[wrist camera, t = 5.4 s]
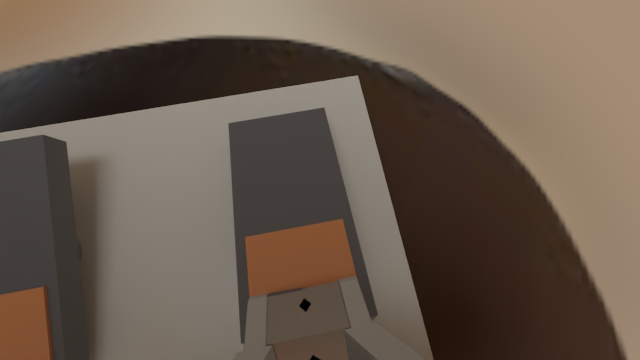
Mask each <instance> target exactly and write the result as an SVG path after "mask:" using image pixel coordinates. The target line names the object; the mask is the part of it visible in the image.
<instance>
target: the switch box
mask: <svg viewBox="0 0 640 360" xmlns="http://www.w3.org/2000/svg"><path fill="white" fill-rule="evenodd" d="M318 108H325V112H326V116H327V120H328V124H329V127H330V131H331V135H332V139H333V143H334V147H335V151H336V154H337V158H338V162H339V166H340V170H341V174H342V178H343V181H344V185H345V189H346V193H347V197H348V201H349V205H350V208H351V212H352V216H353V220H354V224H355V228H356V232H357V235H358V239H359V243H360V247H361V251H362V255H363V259H364V262H365V266H366V270H367V274H368V278H369V282H370V286H371V289H372V293H373V297H374V301H375V305H376V309H377V313H378V315H377V316H376V317H375V319H373V320H372V323H379V324H381V325H382V326H383V327H384V328H386V329H387V330H388V331H390V332H391V333H392V334H393V335H395V336H396V337H397V338H399V339H400V340H401V341H403V342H404V343H405V344H406V345H408V346H409V347H410V348H412V349H413V350H414V351H415V352H417V353H418V354H419V355H421V356H422V357H423V358H424V359H426V360H434V359H433V355H432V352H431V348H430V344H429V340H428V337H427V333H426V329H425V326H424V322H423V318H422V314H421V311H420V307H419V303H418V299H417V296H416V292H415V288H414V284H413V281H412V277H411V273H410V269H409V266H408V262H407V258H406V254H405V251H404V247H403V243H402V239H401V236H400V232H399V228H398V224H397V221H396V217H395V213H394V210H393V206H392V202H391V198H390V195H389V191H388V187H387V183H386V180H385V176H384V172H383V168H382V165H381V161H380V157H379V153H378V150H377V146H376V142H375V138H374V135H373V131H372V127H371V123H370V120H369V116H368V112H367V109H366V105H365V101H364V97H363V94H362V90H361V86H360V82H359V79H358V76H352V77H346V78H340V79H333V80H327V81H321V82H315V83H308V84H302V85H296V86H290V87H283V88H277V89H271V90H265V91H258V92H252V93H246V94H240V95H233V96H227V97H221V98H215V99H209V100H202V101H196V102H190V103H184V104H177V105H171V106H165V107H159V108H152V109H146V110H140V111H134V112H127V113H121V114H115V115H109V116H103V117H96V118H90V119H84V120H78V121H71V122H65V123H59V124H53V125H46V126H40V127H34V128H28V129H21V130H15V131H9V132H3V133H0V141H7V140H13V139H19V138H25V137H31V136H37V135H46V136H49V137H52V138H56V139H59V140H62V141H65V142H66V143H67V153H68V162H69V171H70V181H71V190H72V199H73V209H74V218H75V227H76V237H77V239H78V241H79V243H80V245H81V251H82V252H81V259H80V261H79V265H80V274H81V284H82V293H83V302H84V312H85V321H86V330H87V340H88V349H89V358H90V360H233V358H234V357H235V355H236V354H237V353H238V352H241V351H244V344H242V343H241V337H240V319H239V302H238V284H237V266H236V249H235V231H234V214H233V196H232V179H231V161H230V143H229V126H228V123H233V122H239V121H245V120H251V119H257V118H263V117H269V116H275V115H281V114H287V113H293V112H299V111H306V110H312V109H318Z"/></svg>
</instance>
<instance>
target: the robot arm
mask: <svg viewBox="0 0 640 360" xmlns="http://www.w3.org/2000/svg"><path fill="white" fill-rule="evenodd" d="M233 360H426V359H424V358H423V357H422V356H421V355H419V354H418V353H417V352H415V351H414V350H413V349H412V348H410V347H409V346H408V345H406V344H405V343H404V342H403V341H401V340H400V339H399V338H397V337H396V336H395V335H393V334H392V333H391V332H390V331H388V330H387V329H386V328H384V327H383V326H382V325H381V324H379V323H372V320H371V318H370V315H369V312H368V309H367V306H366V303H365V300H364V297H363V294H362V291H361V288H360V285H359V282H358V279H357V277H356V276H351V277H347V278H342V279H338V280H333V281H328V282H323V283H318V284H314V285H309V286H304V287H300V288H295V289H289V290H283V291H278V292H272V293H268V294H263V295H257V296H251V297H250V298H249V300H248V306H247V317H246V329H245V341H244V351H241V352H238V353H237V354H236V355H235V357H234V358H233Z"/></svg>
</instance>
